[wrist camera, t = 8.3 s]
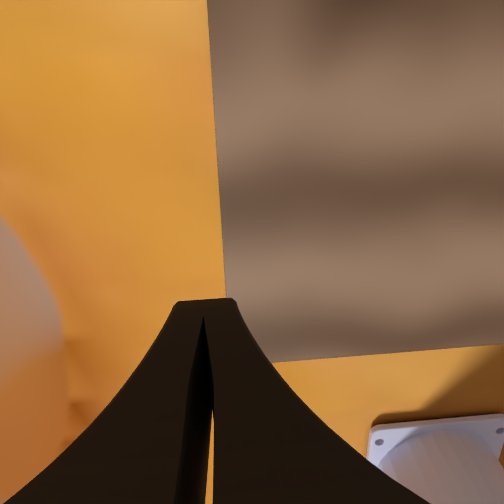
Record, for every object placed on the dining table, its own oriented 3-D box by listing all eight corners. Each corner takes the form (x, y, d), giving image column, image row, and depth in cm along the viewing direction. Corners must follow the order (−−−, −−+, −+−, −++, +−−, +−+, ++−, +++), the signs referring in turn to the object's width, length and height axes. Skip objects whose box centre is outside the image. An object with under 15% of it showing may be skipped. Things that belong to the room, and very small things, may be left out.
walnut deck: (489, 311, 23) (519, 342, 21) (228, 330, 22) (230, 365, 20) (570, -13, 17) (625, -16, 15) (206, -1, 16) (207, -3, 14)
